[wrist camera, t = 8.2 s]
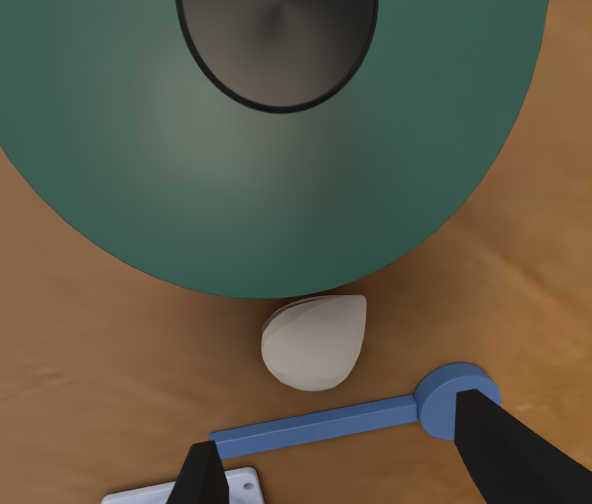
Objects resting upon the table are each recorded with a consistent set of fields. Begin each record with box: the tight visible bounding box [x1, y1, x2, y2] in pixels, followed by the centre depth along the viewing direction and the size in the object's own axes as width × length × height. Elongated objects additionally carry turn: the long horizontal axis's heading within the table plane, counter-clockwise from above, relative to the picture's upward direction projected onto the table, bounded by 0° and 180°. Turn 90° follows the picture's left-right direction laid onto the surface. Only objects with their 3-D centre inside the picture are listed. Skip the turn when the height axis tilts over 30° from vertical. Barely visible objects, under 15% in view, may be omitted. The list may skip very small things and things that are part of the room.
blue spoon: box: [209, 363, 501, 460], centre depth 18 cm, size 4×15×1 cm, turn 98°
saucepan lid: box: [0, 0, 549, 299], centre depth 6 cm, size 10×10×4 cm
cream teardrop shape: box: [261, 295, 367, 391], centre depth 15 cm, size 4×5×2 cm
